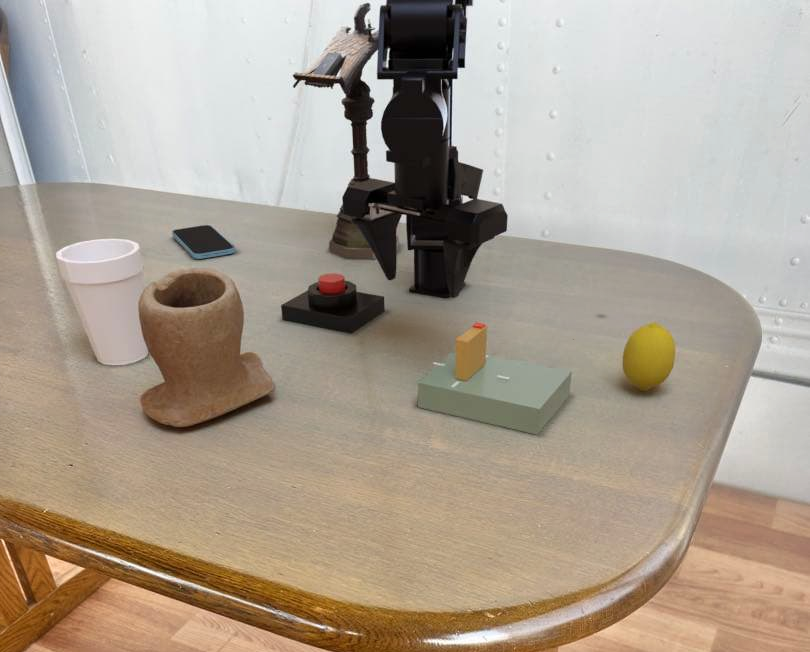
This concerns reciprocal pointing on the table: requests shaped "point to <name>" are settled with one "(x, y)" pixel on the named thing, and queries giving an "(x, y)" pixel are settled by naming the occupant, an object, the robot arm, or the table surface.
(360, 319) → the release button base
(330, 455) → the table surface
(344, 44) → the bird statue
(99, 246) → the foam cup
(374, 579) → the table surface
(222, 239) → the smartphone
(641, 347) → the lemon
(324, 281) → the button
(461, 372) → the orange flat slab
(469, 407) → the plate
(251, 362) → the stone cup
